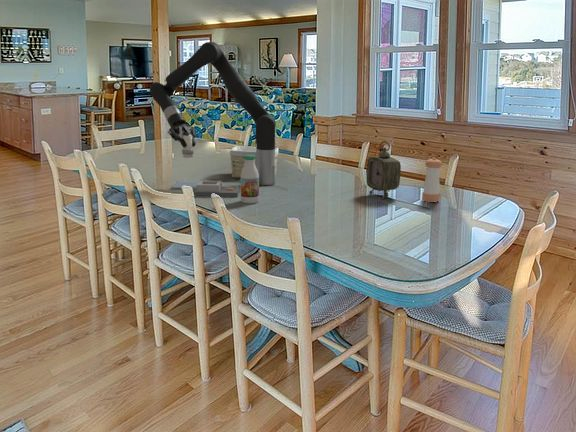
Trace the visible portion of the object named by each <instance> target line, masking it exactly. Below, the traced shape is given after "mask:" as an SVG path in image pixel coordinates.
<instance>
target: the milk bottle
mask: <svg viewBox="0 0 576 432" xmlns="http://www.w3.org/2000/svg"><path fill="white" fill-rule="evenodd" d="M244 161H245V164H244V167H243V169H242V172H241V177H240V203H242V204H247V205H248V204H251V205H252V204H256V203H257V204H258V203H259V200H260V185H259V174H258V171H257V168H256V166H255V155H245V156H244Z"/></svg>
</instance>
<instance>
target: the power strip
mask: <svg viewBox="0 0 576 432" xmlns="http://www.w3.org/2000/svg"><path fill="white" fill-rule="evenodd" d="M198 182H199V183H198V184H197V186H196V187H195V189H194V190H192V191H193V192H194V195H195V196H194V197H197V198H198V197H201V198H202V197H203V198H204V197H205V198H206V197H208V198H212V197H211V194H212V193H215V194H217V195H219V196H220V197H219V198H238V197H239V196H240V195H239V194H240V193H241V186H223V183H222V182H223V181H222V180H200V181H198Z"/></svg>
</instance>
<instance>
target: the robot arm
mask: <svg viewBox="0 0 576 432" xmlns="http://www.w3.org/2000/svg"><path fill="white" fill-rule="evenodd" d="M209 64H211V65H212V66H213V68H214V69H215V70H216V71H217V72H218V73H219V76H220V79H222V82H223V84H224V86H225V88H226V90H227V91H228V93H229V94H230V96H232V98H233V99H234V100H235V102H236V103H237V104H238V105H239V106H240V107H241V108H242V109H243V110H245V112H247V113H248V114H249V116H250V117H251V119H252V120H253V121H254V123H255V145H256V146H255V147H256V168H257V171H258V174H259V186H275V185H276V175H275V148H276V126H277V123H276V120H275V118H274V117H273V116H272V115H271V114H270V113H269V112H268V111H267V110H266V109H265V108H264V107H263V105H262V104H261V102H260V101H259V99H258V98H257V96H256V94H255V93H254V91H253V90H252V88H251V87H250V85H249V84H248V83H247V81H245V79H244V78H243V76H241V74H240V73H239V72H238V70H237V69H236V68H235V67H234V66H233V64H231V61H230V60H229V59H228V58H227V56H226V54H225V52H224V51H223V49H222V47H221V46H220V45H219V44H218V43H217V42H214V41H209V42H208V41H207V42H204V43H202V44H201V46H200V47H199V48H198V49H197V50H196V52H194V54H193V55H192V56H191V57H190V58H189V59H187V60H186V61H185V62H184V63H182V64H181V65H179V66H178V67H177V68H175V69H174V70H173V71H172V72H170V73H169V74H168V75H167V76H166V77H165V81H166V83H165V84H162V83H160V82H157V81H155V82H152V83H151V84H150V85H149V93H150V96H151V97H152V99H153V100H154V101H155V102H156V104H157V105H158V106H159V107H160V109H161V112H162V113H163V115H164V118H165V120H166V122H167V123H168V125H169V127H170V128H169V130H168V131H167V134H169V136H170V137H172V139H173V140H174V141H175V142H179V143H180V145H181V147H182V148H183V147H184V148H185V147H186V146H187V144H186V142H185V140H184V139H183V136H182V135H185V132H189V135H192V148H194V147H196V145H197V142H196V140H195V138H196V136H197V135H196V130H195V127H194V126H192V127H190V126H189V125H187V122H186V119H185V118H184V116H183V114H182V112H181V110H180V109H179V108H178V106H177V104H176V102H175V101H174V100H173V98H172V95H173V94H174V93H175V91H176V90H177V89H178V88H179V87H180V86H182V85H183V84H184V83H185V82H187V81H188V80H189V79H190V78H191V77H192V76H193V75H194V74H195V73H196V72H197V71H199V70H200V69H201V68H203V67H205V66H207V65H209Z"/></svg>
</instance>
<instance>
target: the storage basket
mask: <svg viewBox="0 0 576 432" xmlns="http://www.w3.org/2000/svg"><path fill="white" fill-rule="evenodd" d="M245 155H255V166H256V146H248V145H246V146H245V145H239V146H238V145H235V146H234V147H232V148H231V149H230V150H229V156H230V164H231V165H230V166H231V176H232V178H241V172H242V169H243V167H244V164H245V161H244V156H245ZM278 155H279V147H275V176H276V174H277V167H278V164H277V163H278Z"/></svg>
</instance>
